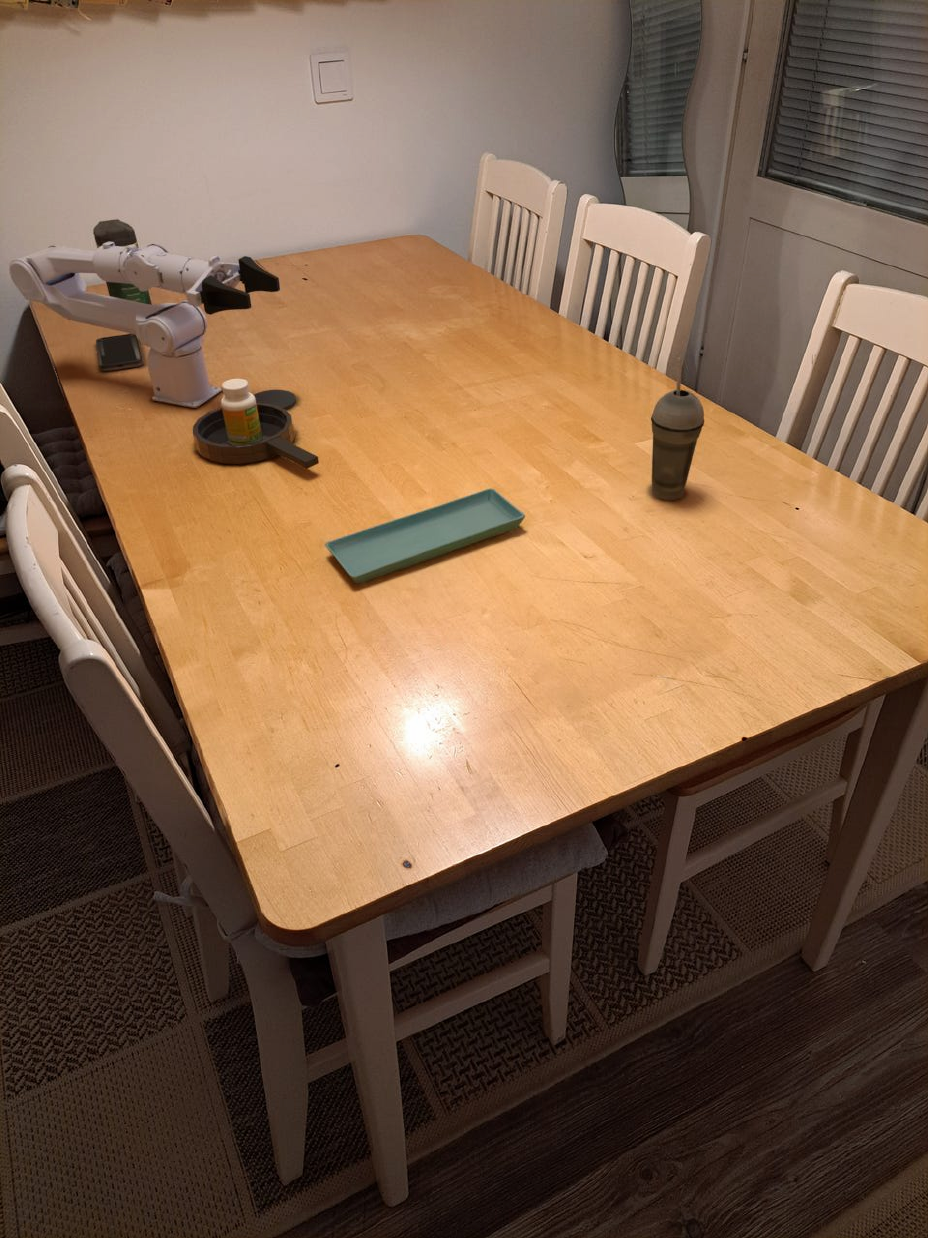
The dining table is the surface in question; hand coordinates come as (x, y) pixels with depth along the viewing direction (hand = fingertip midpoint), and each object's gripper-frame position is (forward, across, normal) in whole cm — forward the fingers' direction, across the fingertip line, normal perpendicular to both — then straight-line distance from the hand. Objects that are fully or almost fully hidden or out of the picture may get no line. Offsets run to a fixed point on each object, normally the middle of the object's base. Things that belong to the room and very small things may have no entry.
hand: (264, 292), depth 141 cm
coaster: (-4, +3, +21) cm, 22 cm away
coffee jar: (-57, +28, +25) cm, 68 cm away
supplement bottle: (+1, -11, +20) cm, 23 cm away
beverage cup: (+67, +1, +18) cm, 70 cm away
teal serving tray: (+41, -25, +18) cm, 52 cm away
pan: (+1, -11, +20) cm, 23 cm away
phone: (-44, +9, +24) cm, 50 cm away
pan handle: (+13, -15, +18) cm, 26 cm away
